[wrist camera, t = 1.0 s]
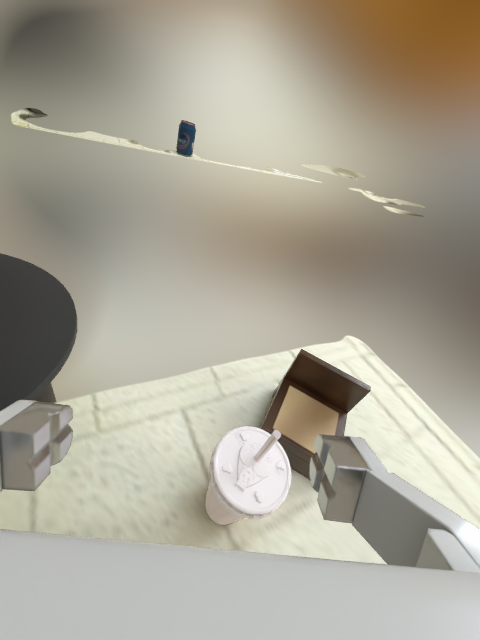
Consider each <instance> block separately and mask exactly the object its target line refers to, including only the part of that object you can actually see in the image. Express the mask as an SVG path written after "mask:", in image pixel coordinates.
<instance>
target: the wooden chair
mask: <svg viewBox="0 0 480 640" xmlns="http://www.w3.org/2000/svg"><path fill="white" fill-rule="evenodd" d="M370 388H371V387H370V386H369V385H367V384H365V383H363V382H361V381H359V380H358V379H356V378H354V377H352V376H350V375H348V374H347V373H345V372H343V371H341V370H339V369H337V368H336V367H334V366H332V365H330V364H328V363H326V362H325V361H323V360H321V359H319V358H317V357H315V356H314V355H312V354H310V353H308V352H306V351H304V350H303V349H301V350H300V352H299V354H298V355H297V357H296V358H295V360H294V361H293V363H292V364H291V366H290V368H289V369H288V371H287V372H286V374H285V375H284V377H283V379H282V380H281V382H280V383H279V385H278V386H277V388H276V389H275V392H274V394H273V397H274V398H273V401H272V403H271V405H270V407H269V410H268V412H267V414H266V416H265V418H264V421H263V423H262V424H261V426H260V427H259V428H260V429H262V430H264V431H266V432H268V433H269V434H270V435H271V434H272V433H273V432H274V430H278V431H279V432H280V433H281V437H280V438H279V439H278V440H277V441H278V442H279V443H280V445H281V446H282V447H283V449H284V451H285V453H286V455H287V457H288V460H289V463H290V467H291V468H293V469H294V470H296V471H297V472H299V473H301V474H302V475H304V476H305V477H307V478H308V479H310V461H311V456H312V455H313V454H314V453H315V452H317V451H316V449H315V447H314V442H315V438H316V436H317V434H323V435H334V436H344V431H345V424H346V418H347V413H348V412H349V411H350V410H351V409H352V408H353V407H354V406H355V405H356V404H357V403H358V402H359V401H360V400H362V399H363V398H364V397H365V396H366V395H367V394H368V393H369V392H370Z"/></svg>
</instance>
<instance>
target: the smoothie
mask: <svg viewBox="0 0 480 640" xmlns="http://www.w3.org/2000/svg"><path fill="white" fill-rule="evenodd" d="M280 437H281V433H280V432H279V431H278V430H274V432H273V433H272V434H271V435H270V434H269V433H268V432H266V431H264V430H262V429H260V428H256V427H252V426H242V427H238V428H235V429H232V430H231V431H229V432H228V433H226V434H225V435H224V436H223V437H222V438H221V440H220V441H219V442H218V444H217V445H216V447H215V449H214V451H213V453H212V457H211V461H210V481H209V486H208V490H207V494H206V498H205V507H206V511H207V514H208V516H209V517H210V518H211V520H212V521H214V522H215V523H217V524H220V525H228V524H231V523H233V522H236V521H239V520H242V519H245V518H248V519H254V518H262V517H265V516H268V515H270V514H271V513H273V512H274V511H275V510H276V509H277V508H279V506H280V505H281V504H282V503H283V501H284V500H285V498H286V497H287V495H288V492H289V489H290V485H291V468H290V463H289V460H288V457H287V455H286V453H285V451H284V449H283V447H282V446H281V445H280V443H279V442H278V441H277V440H278V439H279V438H280Z"/></svg>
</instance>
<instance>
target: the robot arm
mask: <svg viewBox="0 0 480 640" xmlns="http://www.w3.org/2000/svg"><path fill="white" fill-rule="evenodd" d="M72 419H73V410H72V408H71V407H70V406H68V405H61V404H53V403H46V402H37V401H30V400H18V401H16V402H15V403H13V404H12V405H10V406H8V407H7V408H5V409H4V410H2V411H0V492H1V491H2V489H9V490H24V491H35V490H36V489H37V488H38V486H39V485H40V484H41V483H42V482H43V481H44V480H45V479H46V477H47V476H48V475H49V474H50V467H51V466H53V465H55V464H57V463H59V462H61V460H62V459H63V458H64V457H65V456H66V454H67V452H68V450H69V448H70V446H71V442H72V438H73V430H72V429H71V427H70V426H69V425H68V423H69V422H70V421H71V420H72ZM314 447H315V449H316V451H317V452H315V453H314V454H313V455H312V456H311V461H310V480H311V483H312V487H313V488H314V489H315V490H316V491H317V492H318V493H319V494H318V498H317V501H318V504H319V507H320V510H321V513H322V515H323V518H324V520H330V521H338V522H345V523H353V524H352V525H353V526H354V527H355V529H356V530H357V531H358V532H359V533H360V534H361V535H362V536H363V537H364V539H365V540H366V541H367V542H368V543H369V544H370V545H371V546H372V547H373V549H374V550H375V551H376V552H377V553H378V554H379V555H380V556H381V557H382V559H383V560H384V561H385V562H386V563H387V564H388V565H386V564H375V563H363V562H351V561H341V560H330V559H319V558H308V557H298V556H287V555H276V554H266V553H255V552H244V551H234V550H223V549H212V548H201V547H190V546H179V545H168V544H157V543H146V542H135V541H123V540H112V539H101V538H90V537H79V536H68V535H57V534H47V533H36V532H25V531H14V530H3V529H0V640H480V529H479V528H477V527H476V526H474V525H473V524H471V523H469V522H468V521H466V520H465V519H463V518H462V517H460V516H459V515H457V514H456V513H454V512H453V511H451V510H449V509H448V508H446V507H445V506H443V505H442V504H440V503H439V502H437V501H436V500H434V499H433V498H431V497H430V496H428V495H426V494H425V493H423V492H422V491H420V490H419V489H417V488H416V487H414V486H413V485H411V484H410V483H408V482H407V481H405V480H403V479H402V478H400V477H399V476H397V475H396V474H394V473H389V472H388V471H387V469H386V468H385V467H384V465H383V464H382V463H381V461H380V460H379V459H378V457H377V456H376V454H375V453H374V452H373V450H372V449H371V448H370V446H369V445H368V444H367V442H366V441H365V440H364V439H363V438H361V437H348V436H347V437H346V436H334V435H323V434H317V436H316V438H315V442H314Z"/></svg>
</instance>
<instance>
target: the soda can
mask: <svg viewBox="0 0 480 640" xmlns="http://www.w3.org/2000/svg"><path fill="white" fill-rule="evenodd" d="M195 132H196V129H195V124H193V123H190V122H188V121H184V120H182V121H181V123H180V125H179V133H178V141H177V152H178V154H180V155H183V156H187V157H190V156H191V155H192V152H193V146H194V139H195Z"/></svg>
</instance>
